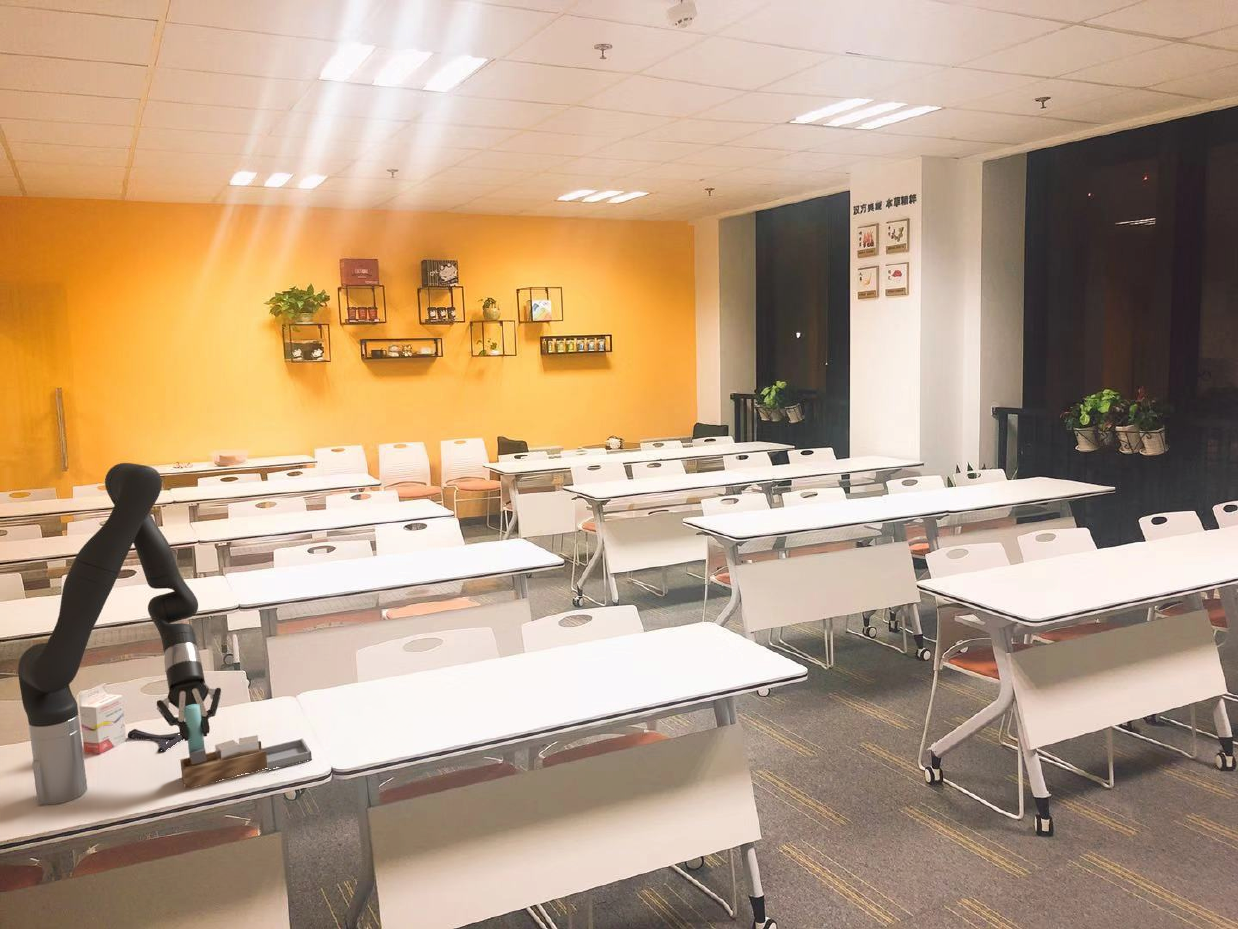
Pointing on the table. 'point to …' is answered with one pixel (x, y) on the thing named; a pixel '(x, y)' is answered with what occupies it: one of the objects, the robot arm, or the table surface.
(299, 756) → the tray
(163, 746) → the black forked piece
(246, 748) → the chip
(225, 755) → the light grey block
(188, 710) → the teal block
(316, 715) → the table surface
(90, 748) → the ink cartridge box
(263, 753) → the channel
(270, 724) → the table surface
